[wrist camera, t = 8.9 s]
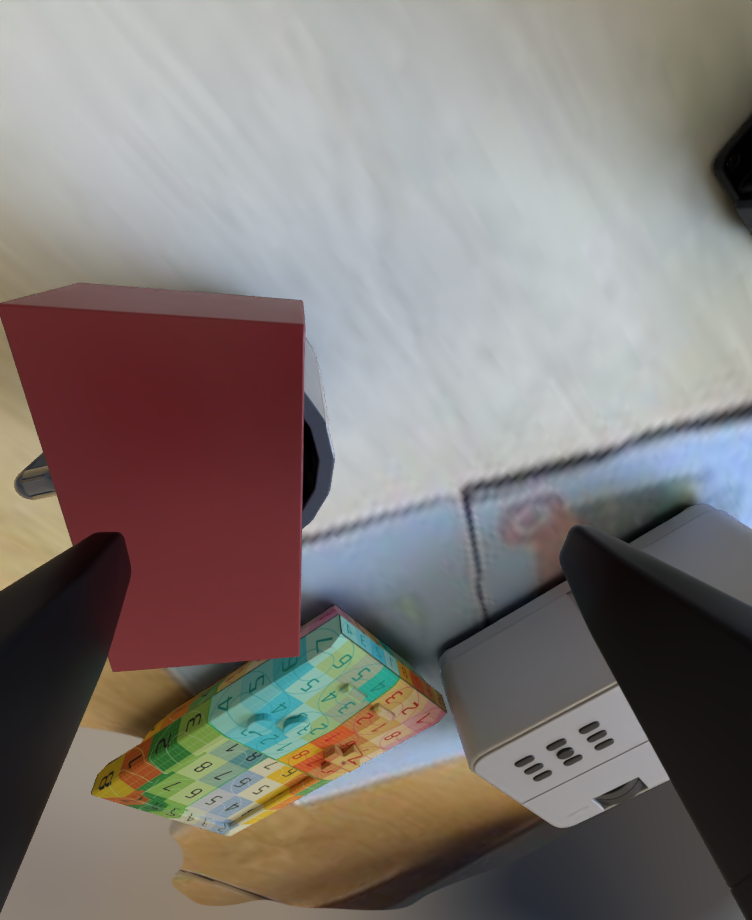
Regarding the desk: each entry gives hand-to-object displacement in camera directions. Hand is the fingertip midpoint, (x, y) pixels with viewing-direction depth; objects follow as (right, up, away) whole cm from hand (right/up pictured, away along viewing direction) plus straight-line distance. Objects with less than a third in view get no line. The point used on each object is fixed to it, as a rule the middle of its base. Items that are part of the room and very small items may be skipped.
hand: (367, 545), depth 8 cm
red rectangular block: (-4, +2, +4) cm, 6 cm away
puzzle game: (-7, -15, +22) cm, 28 cm away
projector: (+17, -12, +25) cm, 33 cm away
